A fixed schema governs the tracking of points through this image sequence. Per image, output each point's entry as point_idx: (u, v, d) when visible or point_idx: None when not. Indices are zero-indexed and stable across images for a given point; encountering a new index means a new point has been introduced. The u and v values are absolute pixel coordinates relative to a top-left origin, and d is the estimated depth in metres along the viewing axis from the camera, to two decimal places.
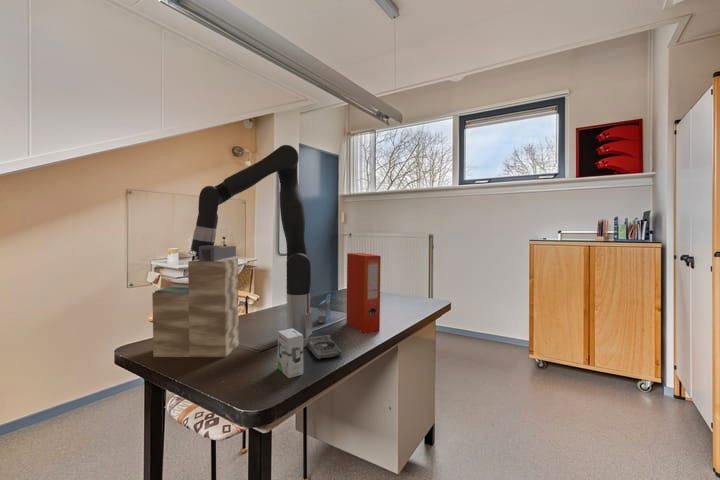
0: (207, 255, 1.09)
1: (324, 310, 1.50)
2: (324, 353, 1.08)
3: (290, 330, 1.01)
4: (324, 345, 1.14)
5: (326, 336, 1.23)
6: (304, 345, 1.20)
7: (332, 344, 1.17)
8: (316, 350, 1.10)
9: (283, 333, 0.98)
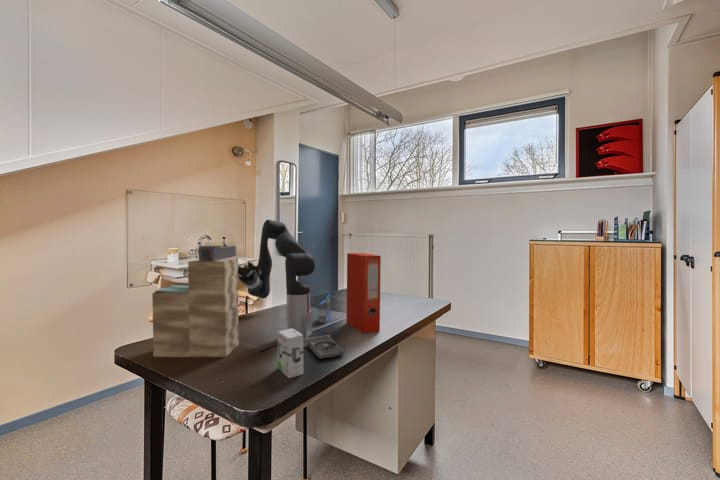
0: (207, 255, 1.09)
1: (324, 310, 1.50)
2: (326, 353, 1.08)
3: (290, 330, 1.01)
4: (325, 345, 1.14)
5: (326, 336, 1.23)
6: (305, 345, 1.20)
7: None
8: (318, 350, 1.10)
9: (283, 333, 0.98)
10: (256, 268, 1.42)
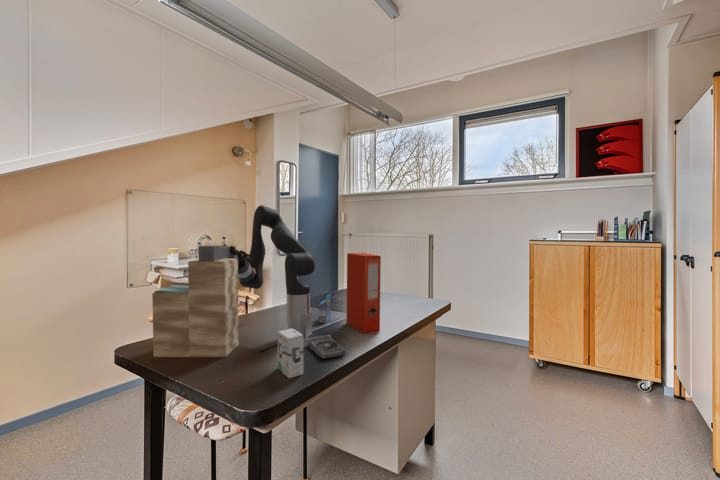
0: (206, 255, 1.09)
1: (324, 310, 1.50)
2: (328, 353, 1.08)
3: (290, 330, 1.01)
4: (327, 345, 1.14)
5: None
6: (305, 345, 1.19)
7: (334, 343, 1.17)
8: (320, 350, 1.10)
9: (283, 333, 0.98)
10: (239, 253, 1.29)
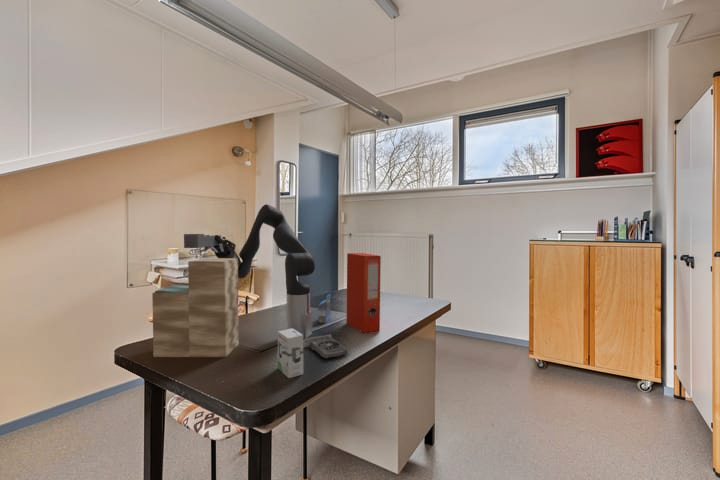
0: (191, 242, 1.19)
1: (324, 310, 1.50)
2: (331, 352, 1.09)
3: (290, 330, 1.01)
4: (328, 344, 1.15)
5: None
6: (306, 345, 1.19)
7: (335, 343, 1.18)
8: (322, 350, 1.10)
9: (283, 333, 0.98)
10: (224, 242, 1.39)
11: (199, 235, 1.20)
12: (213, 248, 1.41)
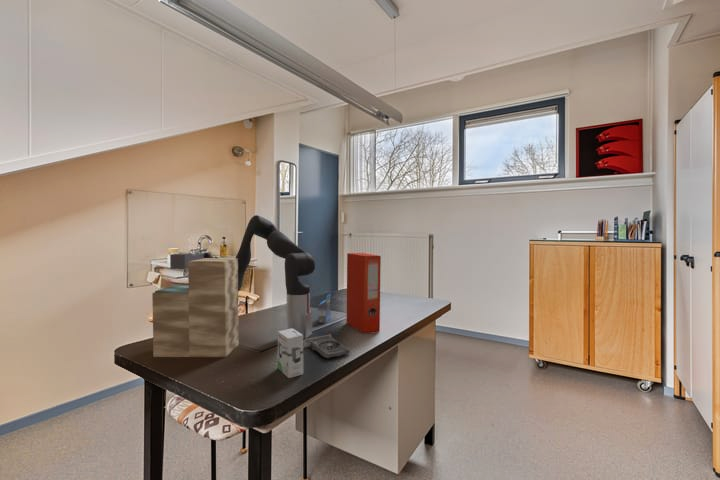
0: (178, 262, 1.13)
1: (324, 310, 1.50)
2: (332, 352, 1.09)
3: (290, 330, 1.01)
4: (329, 344, 1.15)
5: (327, 335, 1.23)
6: (307, 345, 1.19)
7: (336, 343, 1.18)
8: (323, 350, 1.10)
9: (283, 333, 0.98)
10: None
11: (186, 255, 1.15)
12: None
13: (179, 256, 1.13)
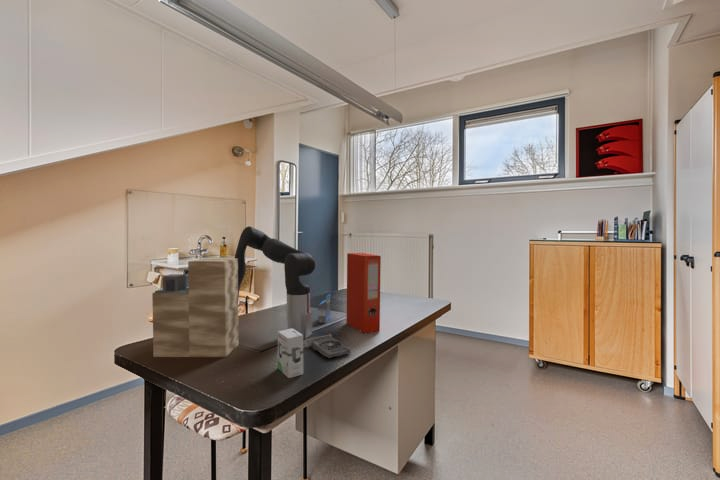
0: (171, 284, 1.09)
1: (324, 310, 1.50)
2: (334, 352, 1.09)
3: (290, 330, 1.01)
4: (330, 344, 1.15)
5: None
6: (307, 346, 1.19)
7: (337, 343, 1.18)
8: (324, 350, 1.10)
9: (283, 333, 0.98)
10: None
11: (179, 277, 1.10)
12: None
13: (172, 278, 1.09)
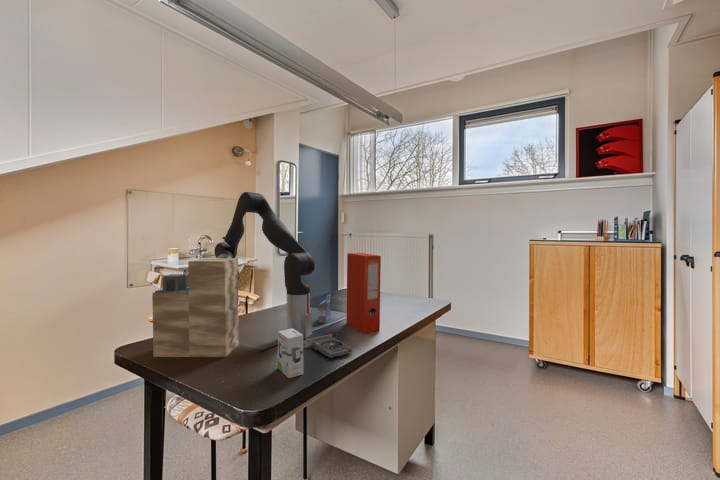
0: (171, 284, 1.09)
1: (324, 310, 1.50)
2: (335, 352, 1.09)
3: (290, 330, 1.01)
4: (331, 344, 1.15)
5: (328, 335, 1.24)
6: (308, 346, 1.19)
7: (338, 342, 1.18)
8: (326, 349, 1.11)
9: (283, 333, 0.98)
10: None
11: (179, 277, 1.10)
12: None
13: (172, 278, 1.09)
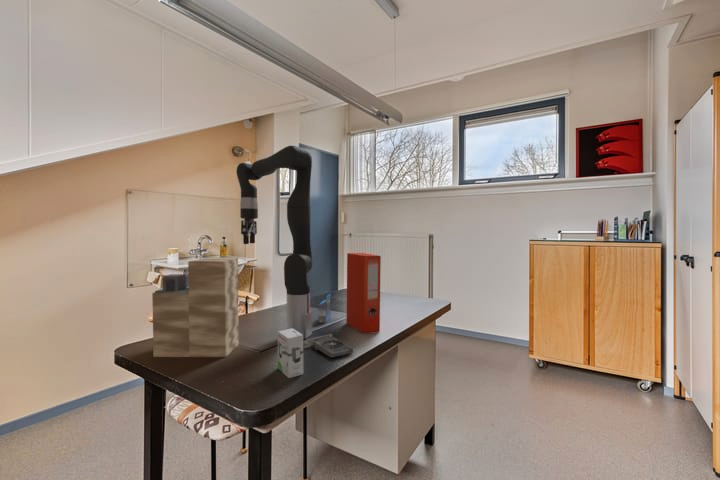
0: (171, 284, 1.09)
1: (324, 310, 1.50)
2: (337, 351, 1.10)
3: (290, 330, 1.01)
4: (332, 344, 1.15)
5: None
6: (309, 346, 1.19)
7: (338, 342, 1.19)
8: (328, 349, 1.11)
9: (283, 333, 0.98)
10: None
11: (179, 277, 1.10)
12: None
13: (172, 278, 1.09)
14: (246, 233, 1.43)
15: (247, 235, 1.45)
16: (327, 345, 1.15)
